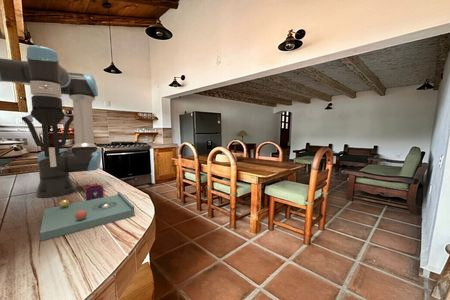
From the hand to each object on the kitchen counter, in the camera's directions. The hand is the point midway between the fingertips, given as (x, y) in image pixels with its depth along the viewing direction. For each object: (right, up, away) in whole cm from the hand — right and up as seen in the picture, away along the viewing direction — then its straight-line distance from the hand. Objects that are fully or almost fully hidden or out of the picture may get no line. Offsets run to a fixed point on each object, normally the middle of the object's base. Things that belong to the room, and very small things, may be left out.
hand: (53, 166), depth 67 cm
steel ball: (+11, -18, +11) cm, 24 cm away
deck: (+7, -20, +7) cm, 22 cm away
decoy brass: (-4, -15, +9) cm, 18 cm away
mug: (-2, -18, +24) cm, 31 cm away
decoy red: (+11, -16, -2) cm, 20 cm away
